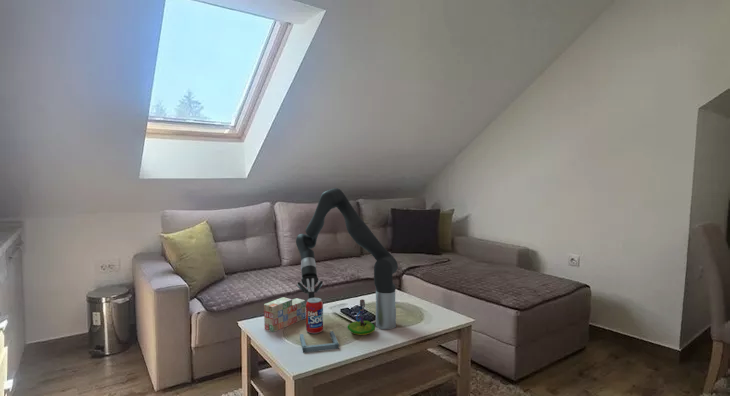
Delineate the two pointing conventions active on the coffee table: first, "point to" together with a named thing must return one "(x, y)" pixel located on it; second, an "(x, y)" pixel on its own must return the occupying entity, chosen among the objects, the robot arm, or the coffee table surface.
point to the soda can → (314, 315)
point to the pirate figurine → (361, 323)
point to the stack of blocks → (283, 313)
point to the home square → (322, 346)
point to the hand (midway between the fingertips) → (311, 300)
